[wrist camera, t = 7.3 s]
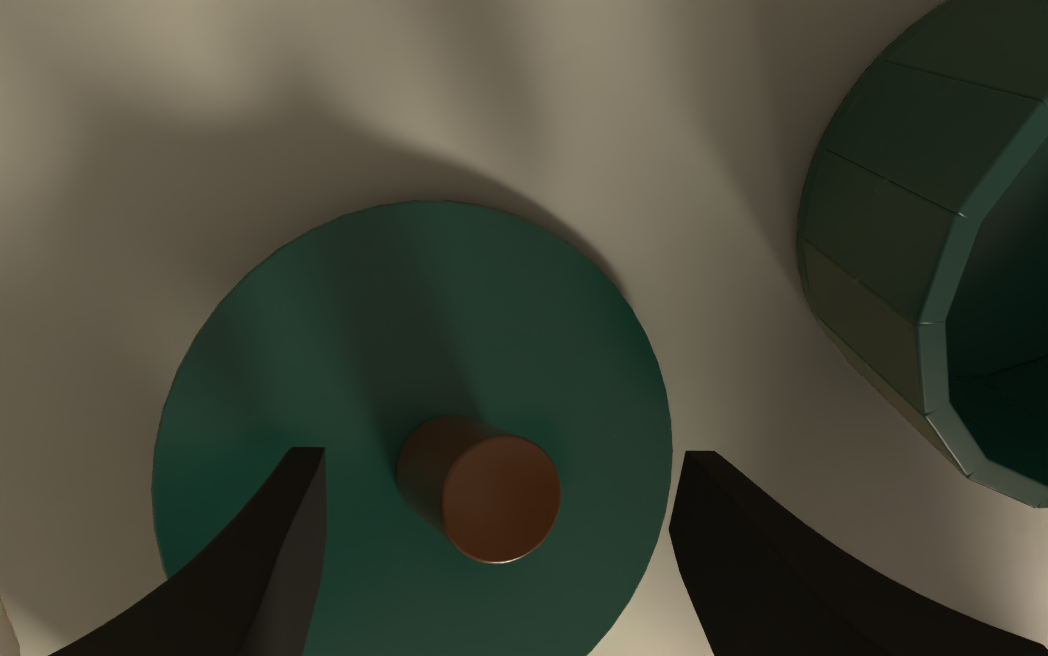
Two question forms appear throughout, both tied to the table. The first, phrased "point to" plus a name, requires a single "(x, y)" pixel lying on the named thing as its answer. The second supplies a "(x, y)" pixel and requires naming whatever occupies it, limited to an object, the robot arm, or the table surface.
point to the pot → (944, 236)
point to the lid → (432, 431)
